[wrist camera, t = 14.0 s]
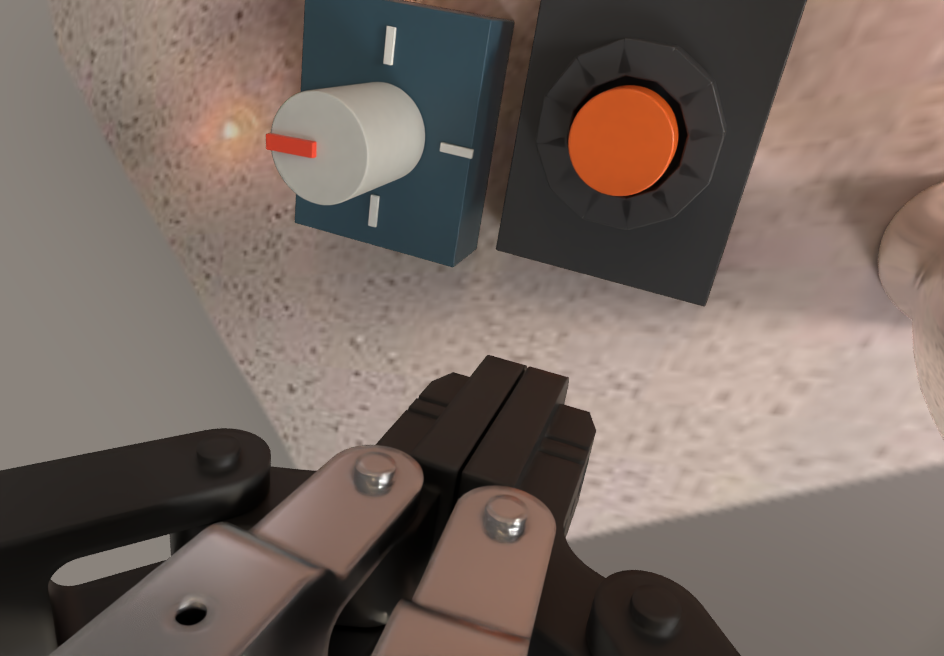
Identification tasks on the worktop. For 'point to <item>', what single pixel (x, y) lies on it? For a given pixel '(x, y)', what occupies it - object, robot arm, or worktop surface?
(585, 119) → the button
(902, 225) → the silver metal cup
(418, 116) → the dial
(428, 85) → the knob panel
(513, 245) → the orange push button panel
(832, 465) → the worktop surface
